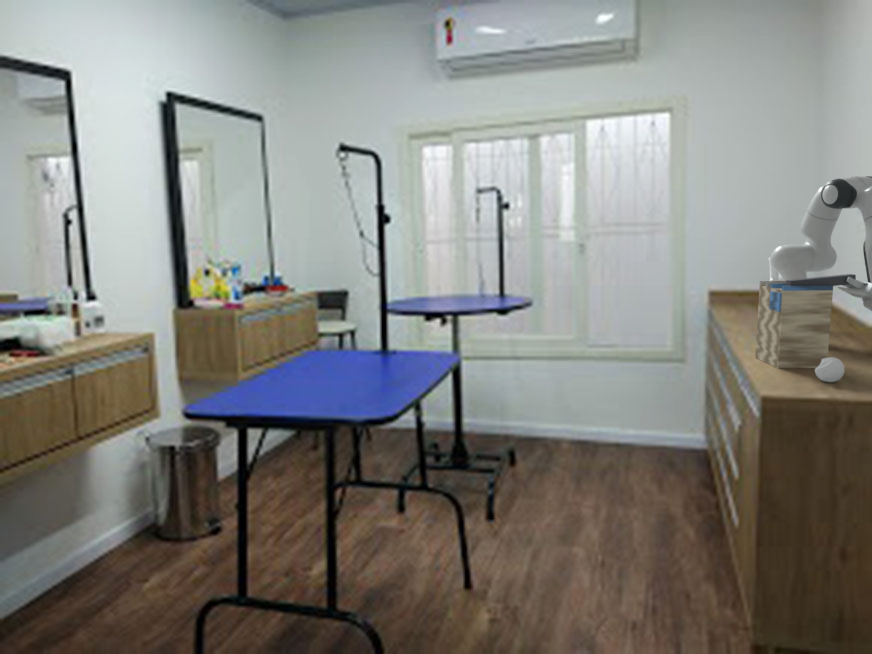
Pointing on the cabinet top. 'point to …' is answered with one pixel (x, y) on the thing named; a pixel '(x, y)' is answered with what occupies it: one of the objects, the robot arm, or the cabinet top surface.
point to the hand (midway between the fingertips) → (842, 278)
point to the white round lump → (830, 369)
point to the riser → (793, 324)
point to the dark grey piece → (821, 281)
